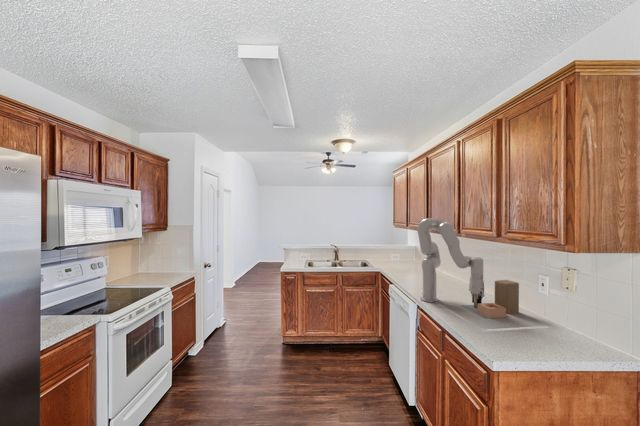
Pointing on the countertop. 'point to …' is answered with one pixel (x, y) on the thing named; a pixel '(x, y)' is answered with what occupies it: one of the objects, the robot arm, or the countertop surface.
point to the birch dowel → (475, 301)
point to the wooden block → (507, 295)
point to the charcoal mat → (475, 310)
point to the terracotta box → (491, 310)
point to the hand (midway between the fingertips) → (476, 303)
